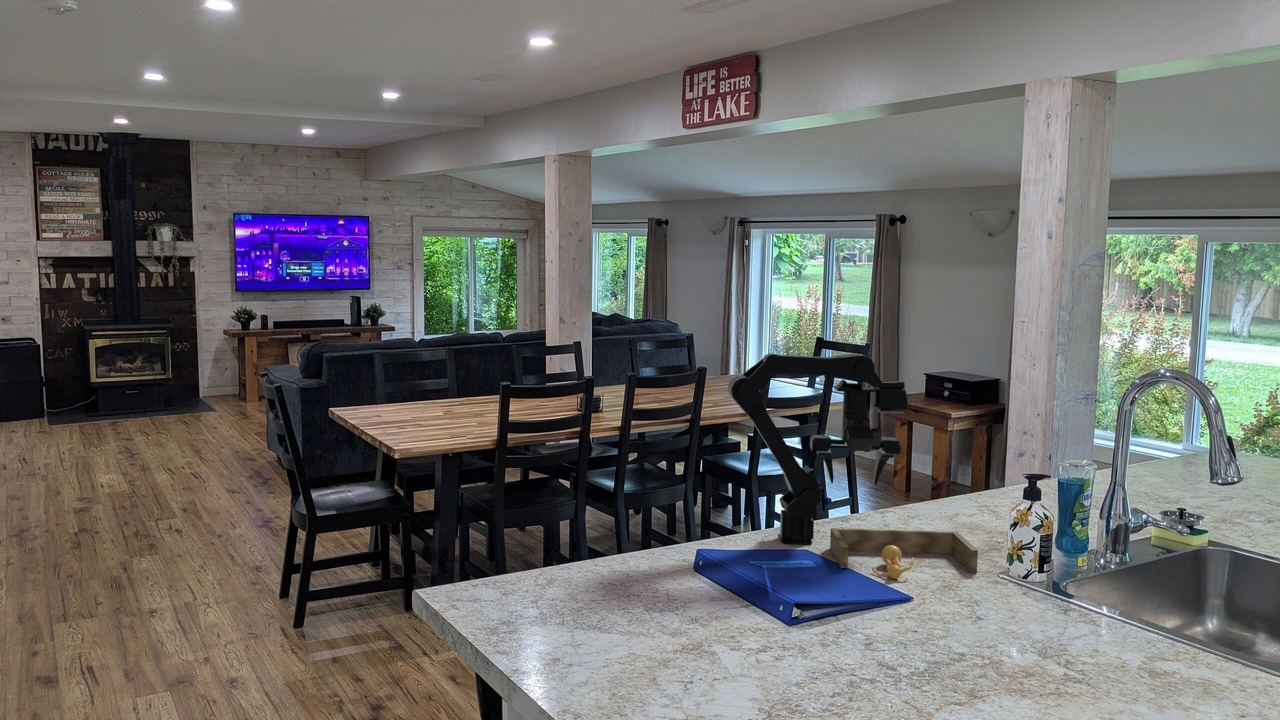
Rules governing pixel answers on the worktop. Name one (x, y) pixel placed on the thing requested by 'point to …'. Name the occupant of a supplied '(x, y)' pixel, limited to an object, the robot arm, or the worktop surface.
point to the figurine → (893, 562)
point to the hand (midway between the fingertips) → (853, 483)
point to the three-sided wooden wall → (902, 543)
